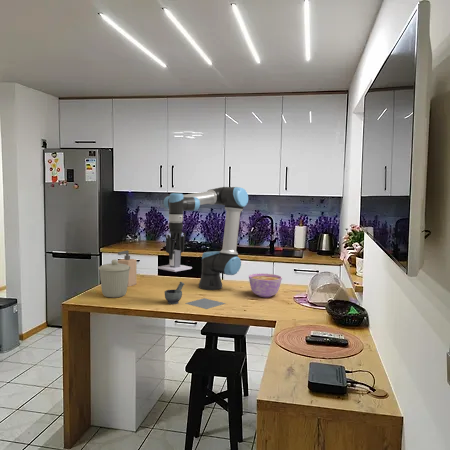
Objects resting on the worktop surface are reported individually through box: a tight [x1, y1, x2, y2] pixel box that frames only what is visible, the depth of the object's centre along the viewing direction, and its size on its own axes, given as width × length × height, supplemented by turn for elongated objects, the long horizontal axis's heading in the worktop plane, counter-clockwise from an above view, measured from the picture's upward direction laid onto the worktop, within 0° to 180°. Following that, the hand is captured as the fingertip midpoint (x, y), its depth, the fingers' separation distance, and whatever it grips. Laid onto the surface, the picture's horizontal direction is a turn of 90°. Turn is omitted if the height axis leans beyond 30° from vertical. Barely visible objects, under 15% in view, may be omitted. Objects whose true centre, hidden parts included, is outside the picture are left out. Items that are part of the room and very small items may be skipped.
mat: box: [185, 297, 227, 310], centre depth 246 cm, size 16×16×1 cm
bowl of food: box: [248, 273, 283, 298], centre depth 268 cm, size 20×20×12 cm
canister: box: [97, 259, 131, 299], centre depth 258 cm, size 18×18×21 cm
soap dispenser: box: [117, 250, 138, 288], centre depth 285 cm, size 13×9×22 cm
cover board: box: [157, 249, 193, 273], centre depth 243 cm, size 13×13×10 cm
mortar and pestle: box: [164, 281, 185, 305], centre depth 245 cm, size 11×9×12 cm
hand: (174, 264), depth 243 cm, fingers closed on cover board, 4 cm apart
